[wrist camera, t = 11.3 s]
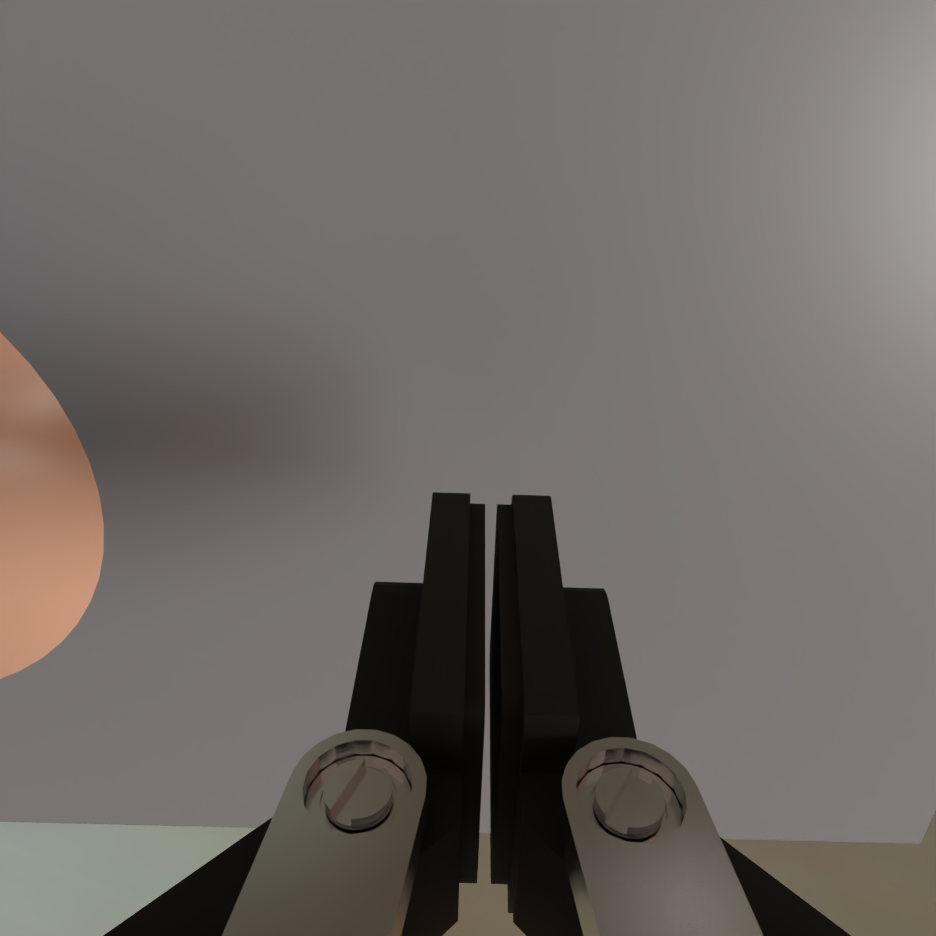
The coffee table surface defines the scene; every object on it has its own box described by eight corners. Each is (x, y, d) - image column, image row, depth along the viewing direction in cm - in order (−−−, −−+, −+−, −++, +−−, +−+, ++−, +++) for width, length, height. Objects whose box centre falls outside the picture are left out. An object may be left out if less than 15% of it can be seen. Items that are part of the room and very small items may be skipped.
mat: (-1064, -149, 11) (-1078, -151, 11) (1329, -84, 11) (1337, -85, 11) (-379, 809, 20) (-383, 812, 20) (918, 840, 21) (920, 843, 20)
